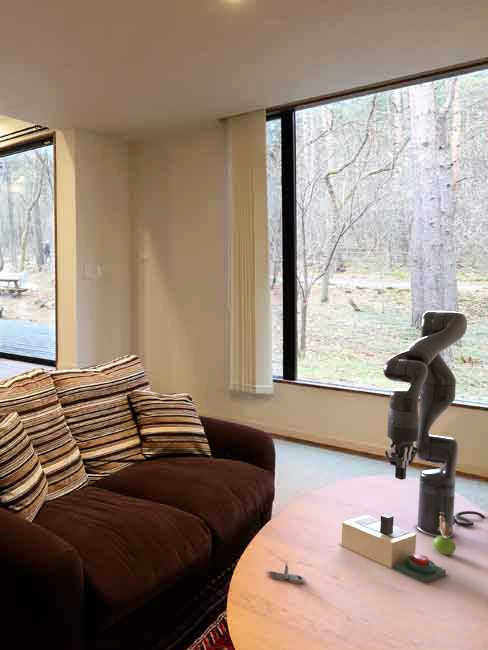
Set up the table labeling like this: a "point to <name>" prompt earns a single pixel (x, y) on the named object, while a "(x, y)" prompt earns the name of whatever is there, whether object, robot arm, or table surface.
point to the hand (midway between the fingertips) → (400, 478)
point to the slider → (386, 524)
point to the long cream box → (377, 541)
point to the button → (420, 559)
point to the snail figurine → (444, 539)
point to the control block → (420, 570)
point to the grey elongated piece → (290, 576)
